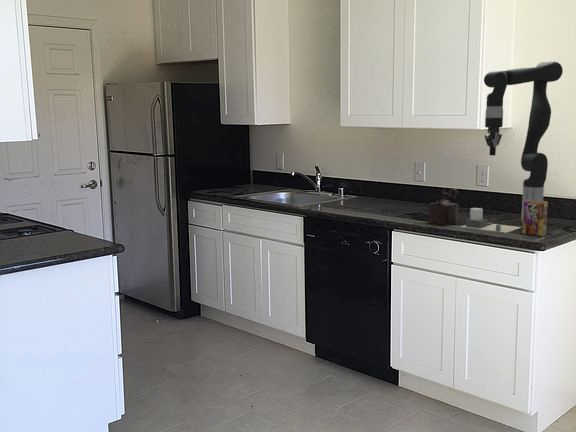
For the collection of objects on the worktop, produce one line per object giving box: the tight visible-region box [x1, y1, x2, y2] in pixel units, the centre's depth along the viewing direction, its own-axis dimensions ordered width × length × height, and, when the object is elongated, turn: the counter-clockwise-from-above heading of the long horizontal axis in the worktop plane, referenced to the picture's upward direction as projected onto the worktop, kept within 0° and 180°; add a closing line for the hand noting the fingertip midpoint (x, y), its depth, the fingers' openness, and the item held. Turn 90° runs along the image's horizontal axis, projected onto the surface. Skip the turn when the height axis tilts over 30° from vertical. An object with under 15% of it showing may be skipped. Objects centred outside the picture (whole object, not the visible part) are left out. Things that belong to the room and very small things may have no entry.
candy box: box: [522, 200, 549, 239], centre depth 277 cm, size 9×4×15 cm, turn 47°
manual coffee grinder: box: [427, 187, 460, 226], centre depth 308 cm, size 16×11×18 cm
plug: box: [469, 207, 484, 221], centre depth 297 cm, size 4×5×8 cm
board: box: [460, 218, 523, 234], centre depth 295 cm, size 16×22×4 cm
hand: (492, 155), depth 295 cm, fingers closed
